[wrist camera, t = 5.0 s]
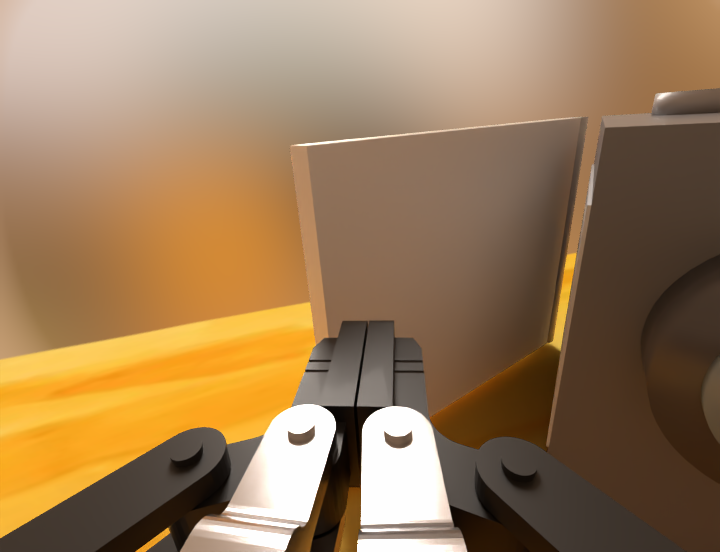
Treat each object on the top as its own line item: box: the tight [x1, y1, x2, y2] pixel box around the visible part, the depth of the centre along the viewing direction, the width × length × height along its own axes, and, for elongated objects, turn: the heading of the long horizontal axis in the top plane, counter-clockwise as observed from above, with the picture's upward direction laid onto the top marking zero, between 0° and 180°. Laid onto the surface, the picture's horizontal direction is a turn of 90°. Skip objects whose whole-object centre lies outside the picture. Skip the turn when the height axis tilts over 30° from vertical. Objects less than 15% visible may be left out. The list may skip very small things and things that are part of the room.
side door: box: [290, 117, 588, 417], centre depth 18 cm, size 2×17×14 cm, turn 124°
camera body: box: [546, 88, 720, 552], centre depth 14 cm, size 9×14×15 cm, turn 149°
